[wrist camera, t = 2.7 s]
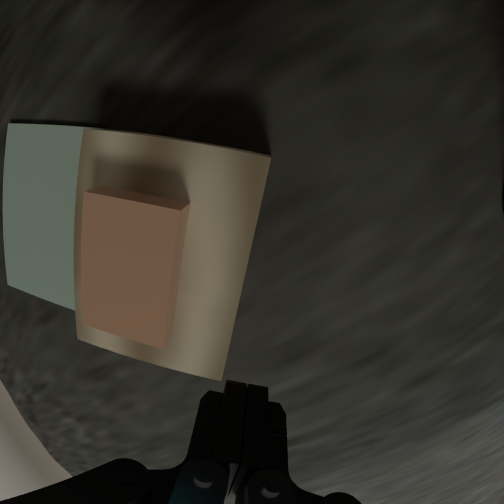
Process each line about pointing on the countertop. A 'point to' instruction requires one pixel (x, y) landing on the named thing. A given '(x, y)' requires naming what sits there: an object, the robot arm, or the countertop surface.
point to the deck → (196, 239)
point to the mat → (41, 209)
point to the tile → (131, 263)
